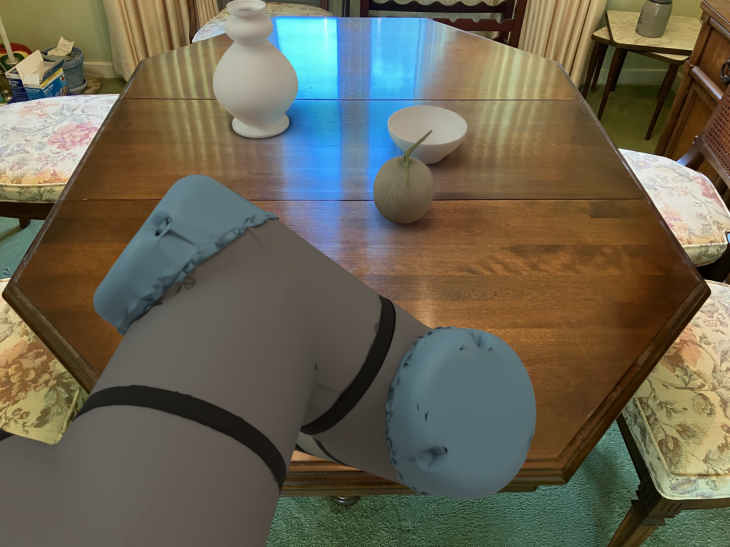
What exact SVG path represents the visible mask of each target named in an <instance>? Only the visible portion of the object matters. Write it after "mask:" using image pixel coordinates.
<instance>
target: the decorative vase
mask: <svg viewBox="0 0 730 547" xmlns="http://www.w3.org/2000/svg"><path fill="white" fill-rule="evenodd" d="M225 7H226V11H227V13H229V14H230V15H229V16H228V18H227V19H226V21H225V22H224V25H223V28H224V32H225V34H226V36H227V37H229V38H230V39H231V40H232V41H233V42H232V43H231V45H230V46H229V47H228V48H227V50H226V51H225V52H224V53H223V54H222V56H221V58H220V60H219V61H218V63H217V65H216V67H215V69H214V73H213V76H212V89H213V94H214V97H215V99H216V101H217V102H218V103H219V104H220V105H221V107H222V108H224V109H225V111H227V112H228V113H229V114H230V115H231V116H232V117H233V119H232V120H231V127H232V129H233V131H234V132H235V133H236V134H238V135H240V136H241V137H246V138H252V139H266V138H270V137H274V136H277V135H280V134H282V133H284V132H285V131H286V130H287V129H288V127H289V126H290V118H289V116H288V115H287V114H286V113H287V111H288V110H289V109H290V108H291V106H292V105H293V103H294V101H295V100H296V98H297V95H298V93H299V79H298V75H297V72H296V69H295V68H294V66H293V64H292V63H291V62H290V60H289V59H288V58H287V56H286V55H285V54H284V53H283V52H282V51H281V50H280V49H279V48H278V47H277V46H275V45H274V44H272V43H271V41H269V40H268V38H270V36H271V35H272V33H273V30H274V23H273V21H272V19H271V18H270V17H269V16H268V15H267V14H265V13H264V12H266V10H267V4H266V2H265V1H263V0H232V1H230V2H228V3H227V4H226V5H225Z"/></svg>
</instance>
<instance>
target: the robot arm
mask: <svg viewBox="0 0 730 547" xmlns="http://www.w3.org/2000/svg"><path fill="white" fill-rule="evenodd" d="M92 304H93V309H94V311H95V313H96V314H97V315H98V316H99V317H100V318H101V319H103V320H104V321H105V322H107V323H108V324H110V325H111V326H113V327H114V328H115V329H116V332H117V334H119V335H120V336H123V337H122V339H121V341H120V342H119V344H118V345H117V347H116V349H115V351H114V352H113V354H112V356H111V358H110V359H109V361H108V362H107V365H105V368H104V369H103V371H102V372H101V374H100V376H99V377H98V380H97V382H96V383H95V385H94V387H93V389H92V390H91V391H90V393H89V395H88V397H86V400H85V401H84V402H83V404H82V405H81V408H80V409H79V411H78V412H77V414H76V415H75V416H74V417H73V419H72V420H71V422H70V424H69V425H68V427H67V429H66V430H65V432H64V433H63V434H62V436H61V437H60V439H59V441H58V442H57V443H53V444H50V443H48V442H45V441H42V440H39V439H34V438H31V437H27V436H23V435H19V434H16V433H13V432H10V431H7V430H5V429H4V428H3V427H0V547H266V546H267V542H268V539H269V535H270V531H271V529H272V525H273V522H274V521H273V520H274V518H275V514H276V510H277V507H278V504H279V500H280V496H281V493H282V490H283V486H284V483H285V481H286V478H287V476H288V472H289V468H290V466H291V461H292V458H293V455H294V452H295V451H296V452H299V453H303V454H305V455H308V456H312V457H316V458H320V459H322V460H326V461H329V462H331V463H332V462H333V463H336V464H339V465H342V466H343V467H348V468H353V469H356V470H359V471H363V472H365V473H369V474H370V475H373V476H376V477H379V478H383V479H386V480H388V481H391V482H393V483H397V484H399V485H402V486H405V487H407V488H409V489H410V490H411V491H413V492H415V493H417V494H419V495H422V496H425V497H429V496H430V495H432V496H438V497H443V498H449V499H456V500H460V501H475V500H480V499H484V498H487V497H489V496H491V495H494V494H496V493H498V492H499V491H501V490H502V489H503V488H505V487H506V486H507V485H508V484H510V482H511V481H512V480H514V478H515V477H516V476H517V475H518V473H519V472H520V470H521V469H522V467H523V466H524V464H525V462H526V460H527V458H528V457H527V456H528V452H529V450H530V448H531V442H532V440H533V438H534V435H535V434H536V423H537V403H536V396H535V391H534V386H533V383H532V380H531V377H530V374H529V373H528V371H527V368H526V366H525V365H524V363H523V361H522V360H521V358H520V357H519V355H518V354H517V352H516V351H515V350H514V349H513V348H512V347H511V346H510V345H509V344H508V343H507V342H506V340H505V341H504V340H503V339H502V338H500V337H499V336H497V335H495V334H493V333H492V332H488V331H485V330H483V329H477V328H471V327H470V328H469V327H456V325H448V326H437V327H433V328H432V327H430V326H428V325H427V324H425V323H423V322H422V321H420V320H419V319H417V318H416V317H415V316H414V315H412V314H410V313H409V312H408V311H407V310H405V309H403V308H402V307H401V306H400V305H399V304H397V303H395V302H394V301H392V300H391V299H389V298H387V297H385V296H383V295H381V294H380V293H378V292H377V291H376V290H374V289H373V288H372V287H371V286H369V285H367V283H365V282H364V281H362V280H361V279H359V278H358V277H357V276H356V275H354V274H353V273H351V272H350V271H348V270H347V269H346V268H344V267H343V266H342V265H340V264H339V263H337V262H336V261H335V260H333V259H332V258H330V257H329V256H327V254H325V253H324V252H323V251H321V250H320V249H318V248H317V247H315V245H313V244H311V243H310V242H309V241H308V240H306V239H304V238H303V237H301V236H300V235H299V234H298V233H296V232H295V231H294V230H292V229H291V228H289V227H288V226H287V225H286V224H284V223H283V222H281V221H280V217H279V216H278V215H277V214H276V213H275V212H273V211H266V210H265V209H262V208H261V207H259V206H258V205H256V204H255V203H253V202H252V201H250V200H249V199H247V198H246V197H244V196H242V195H241V194H240V193H238V192H237V191H235V190H232V189H230V188H229V187H227V186H225V184H223V183H221V182H219V181H218V180H216V179H214V178H213V177H211V176H208V175H205V174H191V175H187V176H184V177H182V178H179V179H178V180H176V181H175V182H174V184H173V185H171V187H170V188H169V189H168V190H167V192H166V193H165V195H163V197H162V198H161V200H160V201H159V202H158V204H157V205H156V206H155V207H154V209H153V210H152V212H151V213H150V214H149V216H148V217H147V218H146V220H145V221H144V223H143V224H142V225H141V227H140V228H139V230H138V231H137V232H136V233H135V235H134V236H133V237H132V239H131V240H130V241H129V242H128V244H127V245H126V247H125V248H124V249H123V250H122V252H121V254H120V255H119V256H118V258H117V259H116V261H115V262H114V263H113V264H112V266H111V268H109V271H108V272H107V273H106V275H105V277H104V278H103V279H102V281H101V282H100V284H99V285H98V287H97V288H96V289H95V292H94V294H93V299H92Z"/></svg>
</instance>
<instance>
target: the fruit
mask: <svg viewBox="0 0 730 547" xmlns="http://www.w3.org/2000/svg"><path fill="white" fill-rule="evenodd" d="M431 132H432V130H430V131H429V132H428V133H427V134H426V135H425V136H424V137H422V138H421V139H420V140H419V141H418V142H416V143H415V144H414V145H413V146H412V147H411V148H409V149H408V150H407V151H406V152H405V153H404V152H403V155H399V156H395V157H392V158H390V159H388V160H387V161H385V162H384V163H383V164H382V165H381V167H379V169H378V171H377V173H376V175H375V178H374V181H373V185H372V186H373V188H372V195H373V202H374V205H375V207H376V210H377V212H378V213H379V214H380V215H381V216H382V217H383V218H384V219H385V220H387V221H388V222H391V223H395V224H404V225H405V224H411V223H414V222H416V221H418V220H419V219H421V218H422V217H423V216H424V215H425V214H426V213H427V211H428V210H429V208H430V206H431V204H432V202H433V199H434V195H435V180H434V176H433V174H432V172H431V170H430V168H429V167H428V166H427V164H424V163H423V162H421V161H420V160H418V159H416V158H413V157H410V154H411V153H412V152H413V151H414V150H415V148H416V147H417V146H418V145H419V144H420V143H421V142H423V141H424V140H425V139H426V138H427V136H428V135H429V134H430V133H431Z"/></svg>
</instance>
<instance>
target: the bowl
mask: <svg viewBox="0 0 730 547" xmlns="http://www.w3.org/2000/svg"><path fill="white" fill-rule="evenodd" d="M468 127H469V125H468V123H467V121H466V120H465V119H464V118H463V116H462V115H459V114H458V113H457V112H455V111H452V110H450V109H447V108H445V107H439V106H435V105H434V106H433V105H413V106H408V107H404V108H401V109H398V110H396V111H394V112H393V113H392V114H391V115H390V116H389V117H388V120H387V131H388V134H389V136H390V138H391V140H392V141H393V143H394V144H395V145H396V146H397V148H398V149H400V150H401V151H402V152H403V154H404V153H405V152H406V151H407V150H408V149H409V148H411V147H412V146H413V145H414V144H415V143H416V142H418V141H419V140H420V139H421V138H422V137H424V136H425V135H426V134H427V133H428V132H429V131H430V130H432V132H431V133H430V134H429V135H428V136H427V138H426V139H425V140H424V141H423V142H421V143H420V144H419V145H418V146H417V147H416V148H415V150H414V151H413V152H412V153H411V154H410V157H413V158H416V159H418V160H420V161H421V162H423V163H424V164H425V165H432V164H436V163H438V162H440V161H442V159H443V158H444V157H446V156H447V155H449V154H450V153H451V152H453V151H455V150H456V149H457V148H458V147H459V146H460V145H461V144H462V142H463V141H464V140H465V137H467V133H468Z"/></svg>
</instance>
